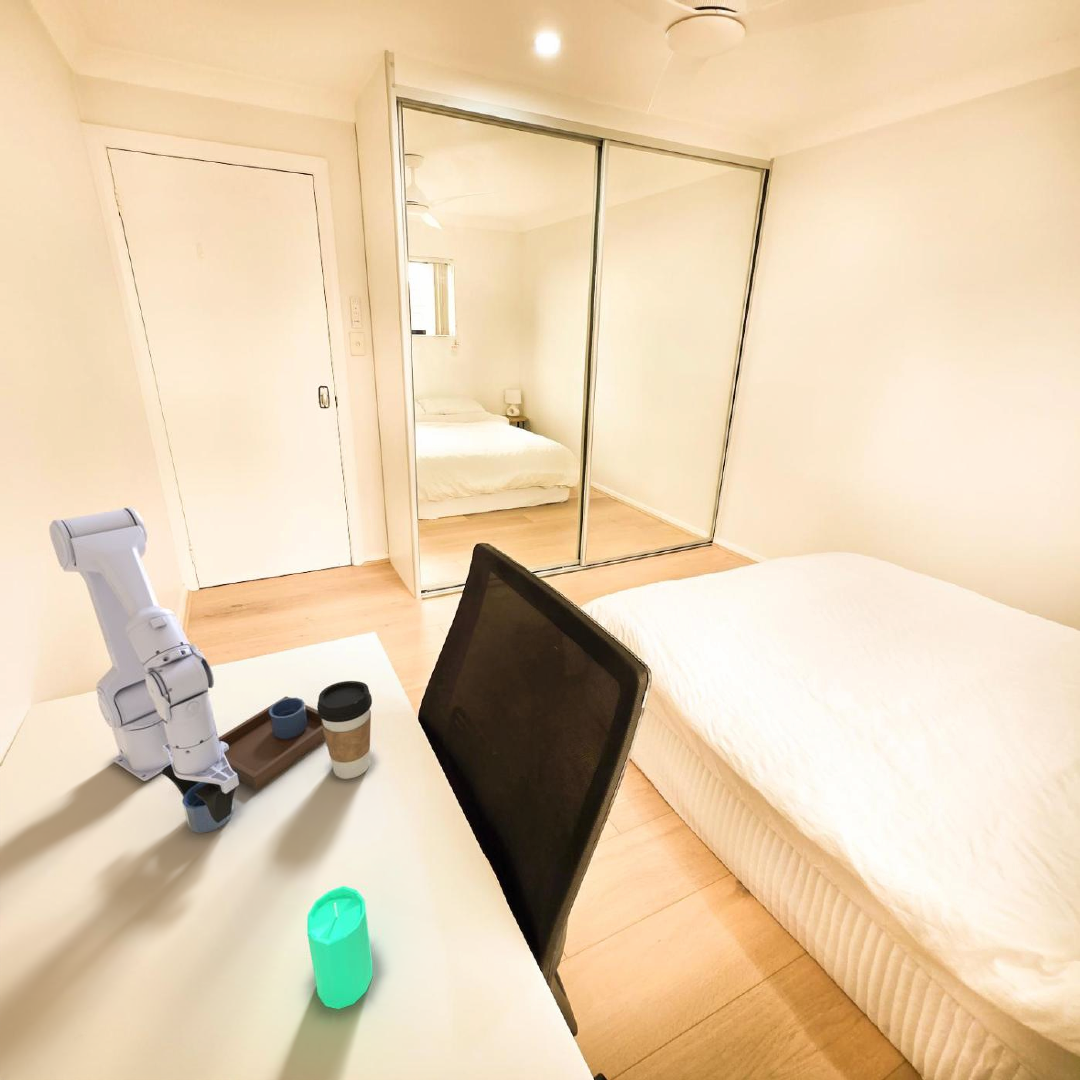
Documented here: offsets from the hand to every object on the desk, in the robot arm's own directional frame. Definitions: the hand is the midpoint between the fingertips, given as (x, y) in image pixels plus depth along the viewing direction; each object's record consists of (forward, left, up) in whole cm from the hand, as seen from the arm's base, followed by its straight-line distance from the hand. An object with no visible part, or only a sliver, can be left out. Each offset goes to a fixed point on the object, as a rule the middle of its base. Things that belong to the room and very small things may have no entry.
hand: (209, 808), depth 79 cm
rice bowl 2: (-6, +19, -1) cm, 20 cm away
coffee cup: (+10, +18, -2) cm, 21 cm away
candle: (+34, -6, -2) cm, 35 cm away
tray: (-6, +15, -2) cm, 16 cm away
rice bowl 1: (0, 0, -2) cm, 2 cm away
